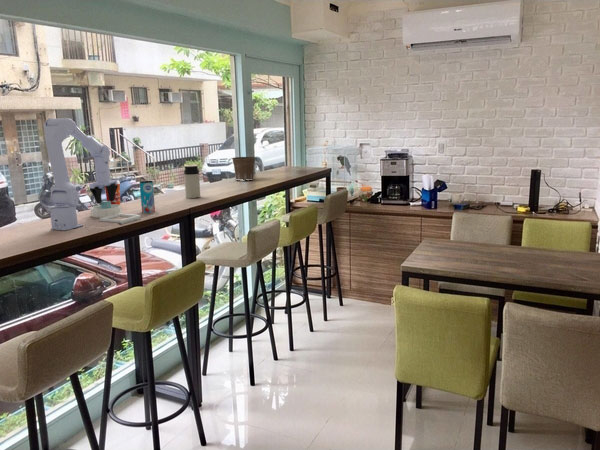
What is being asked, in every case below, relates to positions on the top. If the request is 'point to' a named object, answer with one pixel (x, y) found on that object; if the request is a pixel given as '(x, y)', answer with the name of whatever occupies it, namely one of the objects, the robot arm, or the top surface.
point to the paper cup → (117, 194)
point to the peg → (105, 204)
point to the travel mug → (192, 181)
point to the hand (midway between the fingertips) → (105, 202)
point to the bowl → (105, 211)
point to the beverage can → (147, 196)
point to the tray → (123, 221)
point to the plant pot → (244, 167)
